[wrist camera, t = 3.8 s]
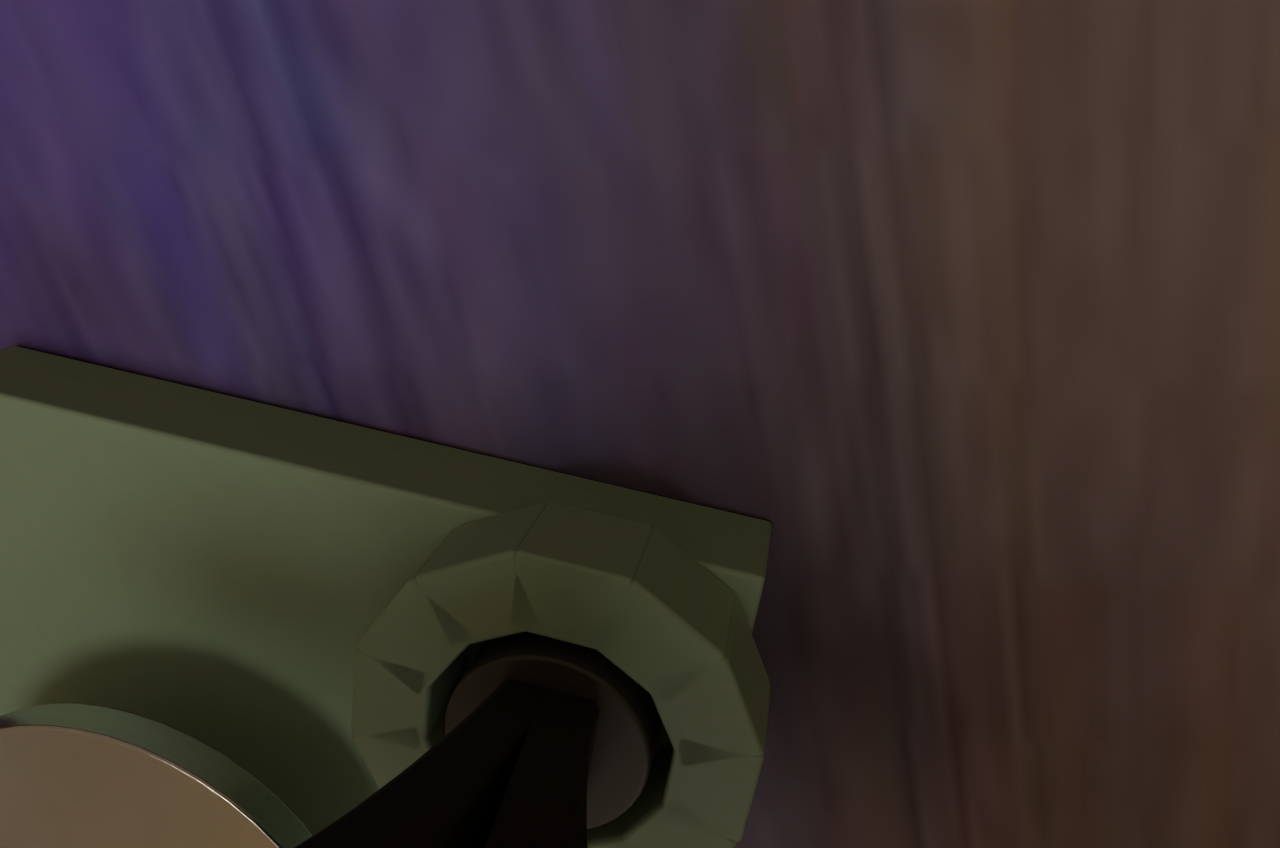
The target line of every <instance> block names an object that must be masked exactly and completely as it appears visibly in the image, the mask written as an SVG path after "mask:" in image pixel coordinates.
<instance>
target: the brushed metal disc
mask: <svg viewBox="0 0 1280 848" xmlns="http://www.w3.org/2000/svg"><path fill="white" fill-rule="evenodd" d="M312 836H313V835H312V833H311V832H310V831H309V830H308V828H307V827H306V826H305V825H304V823H303V822H302V821H301V820H300V818H299V817H298V816H297V815H296V814H295V813H294V812H293V811H292V810H291V809H290V808H289V807H288V806H287V805H286V804H285V803H284V802H283V801H282V800H281V799H280V798H279V797H278V796H277V795H276V794H275V793H274V792H272V791H271V790H270V789H269V788H268V787H266V786H265V785H264V784H263V783H262V782H261V781H259V780H258V779H257V778H256V777H255V776H253V775H252V774H251V773H250V772H248V771H247V770H245V769H244V768H243V767H241V766H240V765H238V764H237V763H235V762H234V761H233V760H231V759H230V758H228V757H227V756H225V755H224V754H222V753H221V752H219V751H217V750H215V749H214V748H212V747H210V746H208V745H207V744H205V743H203V742H201V741H200V740H198V739H196V738H194V737H192V736H190V735H188V734H186V733H183V732H181V731H179V730H177V729H175V728H172V727H170V726H168V725H166V724H164V723H161V722H158V721H155V720H152V719H149V718H146V717H143V716H140V715H137V714H134V713H130V712H126V711H121V710H117V709H113V708H108V707H104V706H95V705H86V704H77V703H67V704H44V705H38V706H32V707H26V708H22V709H19V710H16V711H13V712H10V713H7V714H4V715H1V716H0V848H294V847H296V846H297V845H299V844H300V843H302V842H304V841H305V840H307V839H308V838H310V837H312Z"/></svg>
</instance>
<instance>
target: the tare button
mask: <svg viewBox="0 0 1280 848" xmlns="http://www.w3.org/2000/svg"><path fill="white" fill-rule="evenodd" d="M509 679H512V680H516V681H520V682H524V683H528V684H531V685H535V686H539V687H543V688H546V689H550V690H554V691H558V692H562V693H565V694H569V695H573V696H577V697H581V698H585V699H588V700H592V701H594V702H595V704H596V705H597V706H598V708H599V709H600V713H599V718H598V724H597V729H596V735H595V741H594V746H593V752H592V758H591V763H590V769H589V775H588V780H587V829H591V828H596V827H599V826H601V825H604V824H607V823H609V822H611V821H613V820H615V819H616V818H618V817H619V816H621V815H622V814H623V813H625V812H626V811H627V810H628V809H629V808H630V807H631V806H632V805H633V804H634V803H635V802H636V801H637V799H638V798H639V796H640V795H641V794H642V792H643V790H644V788H645V786H646V783H647V780H648V777H649V773H650V770H651V766H652V762H653V758H654V754H655V750H656V746H657V742H658V739H659V735H660V731H661V727H662V723H663V722H662V720H661V718H660V715H659V713H658V710H657V708H656V706H655V703H654V701H653V699H652V696H651V694H650V693H649V692H648V691H647V690H645V689H644V688H643V687H642V686H640V685H639V684H638V683H637V682H636V681H634V680H633V679H632V678H631V677H629V676H628V675H627V674H626V673H624V672H623V671H622V670H621V669H620V668H618V667H617V666H616V665H615V664H613V663H612V662H611V661H610V660H609V659H607V658H606V657H605V656H604V655H602V654H601V653H600V652H599V651H598V650H596V649H592V648H588V647H585V646H581V645H577V644H573V643H569V642H565V641H561V640H557V639H553V638H549V637H546V636H542V635H538V634H534V633H530V632H526V631H525V632H520V633H516V634H512V635H507V636H503V637H499V638H494V639H490V640H485V641H484V643H483V644H482V646H481V648H480V649H479V651H478V652H477V654H476V656H475V657H474V659H473V660H472V662H471V664H470V665H469V667H468V668H467V670H466V672H465V673H464V675H463V676H462V678H461V680H460V681H459V683H458V684H457V686H456V688H455V689H454V691H453V693H452V695H451V697H450V699H449V702H448V705H447V709H446V714H445V736H446V735H447V734H448V733H449V732H450V731H451V730H453V729H454V728H455V727H456V726H457V725H458V724H459V723H460V722H462V721H463V720H464V719H465V718H466V717H467V716H468V715H469V714H470V713H471V712H472V711H474V710H475V709H476V708H477V707H478V706H479V705H480V704H481V703H482V702H483V701H484V700H485V699H486V698H487V697H488V696H489V695H490V694H491V693H492V692H493V691H494V690H495V689H496V688H497V687H498V686H499V685H500V684H501V683H503V682H505V681H507V680H509Z"/></svg>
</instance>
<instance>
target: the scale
mask: <svg viewBox="0 0 1280 848" xmlns="http://www.w3.org/2000/svg"><path fill="white" fill-rule="evenodd" d="M771 528H772V527H771V523H770V522H768V521H765V520H761V519H756V518H752V517H748V516H744V515H739V514H735V513H731V512H726V511H722V510H718V509H714V508H709V507H705V506H701V505H696V504H692V503H688V502H683V501H679V500H675V499H671V498H666V497H662V496H658V495H653V494H649V493H645V492H640V491H636V490H632V489H628V488H623V487H619V486H615V485H610V484H606V483H602V482H598V481H593V480H589V479H585V478H580V477H576V476H572V475H567V474H563V473H559V472H555V471H550V470H546V469H542V468H537V467H533V466H529V465H524V464H520V463H516V462H512V461H507V460H503V459H499V458H494V457H490V456H486V455H482V454H477V453H473V452H469V451H464V450H460V449H456V448H451V447H447V446H443V445H439V444H434V443H430V442H426V441H421V440H417V439H413V438H408V437H404V436H400V435H396V434H391V433H387V432H383V431H378V430H374V429H370V428H365V427H361V426H357V425H353V424H348V423H344V422H340V421H335V420H331V419H327V418H323V417H318V416H314V415H310V414H305V413H301V412H297V411H292V410H288V409H284V408H280V407H275V406H271V405H267V404H262V403H258V402H254V401H249V400H245V399H241V398H237V397H232V396H228V395H224V394H219V393H215V392H211V391H207V390H202V389H198V388H194V387H189V386H185V385H181V384H176V383H172V382H168V381H164V380H159V379H155V378H151V377H146V376H142V375H138V374H133V373H129V372H125V371H121V370H116V369H112V368H108V367H103V366H99V365H95V364H91V363H86V362H82V361H78V360H73V359H69V358H65V357H60V356H56V355H52V354H48V353H43V352H39V351H35V350H30V349H26V348H22V347H17V346H11V347H7V348H4V349H1V350H0V716H1V715H4V714H7V713H10V712H13V711H16V710H19V709H22V708H26V707H32V706H38V705H44V704H67V703H77V704H86V705H95V706H104V707H108V708H113V709H117V710H121V711H126V712H130V713H134V714H137V715H140V716H143V717H146V718H149V719H152V720H155V721H158V722H161V723H164V724H166V725H168V726H170V727H172V728H175V729H177V730H179V731H181V732H183V733H186V734H188V735H190V736H192V737H194V738H196V739H198V740H200V741H201V742H203V743H205V744H207V745H208V746H210V747H212V748H214V749H215V750H217V751H219V752H221V753H222V754H224V755H225V756H227V757H228V758H230V759H231V760H233V761H234V762H235V763H237V764H238V765H240V766H241V767H243V768H244V769H245V770H247V771H248V772H250V773H251V774H252V775H253V776H255V777H256V778H257V779H258V780H259V781H261V782H262V783H263V784H264V785H265V786H266V787H268V788H269V789H270V790H271V791H272V792H274V793H275V794H276V795H277V796H278V797H279V798H280V799H281V800H282V801H283V802H284V803H285V804H286V805H287V806H288V807H289V808H290V809H291V810H292V811H293V812H294V813H295V814H296V815H297V816H298V817H299V818H300V820H301V821H302V822H303V823H304V825H305V826H306V827H307V828H308V830H309V831H310V832H311V833H312V835H315V834H316V833H318V832H319V831H321V830H322V829H324V828H325V827H327V826H329V825H330V824H331V823H333V822H334V821H336V820H337V819H339V818H340V817H342V816H343V815H345V814H346V813H348V812H349V811H350V810H352V809H353V808H355V807H356V806H357V805H359V804H360V803H361V802H363V801H364V800H365V799H367V798H368V797H369V796H371V795H372V794H373V793H375V792H376V791H377V790H379V789H380V788H381V787H383V786H384V785H385V784H387V783H388V782H389V781H391V780H392V779H393V778H395V777H396V776H398V775H399V774H400V773H401V772H403V771H404V770H405V769H406V768H408V767H409V766H410V765H411V764H412V763H414V762H415V761H416V760H417V759H418V758H420V757H421V756H422V755H423V754H424V753H426V752H427V751H428V750H429V749H430V748H432V747H433V746H434V745H435V744H436V743H438V742H439V741H440V740H441V739H442V738H444V737H445V714H446V709H447V705H448V702H449V699H450V697H451V695H452V693H453V691H454V689H455V688H456V686H457V684H458V683H459V681H460V680H461V678H462V676H463V675H464V673H465V672H466V670H467V668H468V667H469V665H470V664H471V662H472V660H473V659H474V657H475V656H476V654H477V652H478V651H479V649H480V648H481V646H482V644H483V643H484V641H485V640H490V639H494V638H499V637H503V636H507V635H512V634H516V633H520V632H525V631H526V632H530V633H534V634H538V635H542V636H546V637H549V638H553V639H557V640H561V641H565V642H569V643H573V644H577V645H581V646H585V647H588V648H592V649H596V650H598V651H599V652H600V653H601V654H602V655H604V656H605V657H606V658H607V659H609V660H610V661H611V662H612V663H613V664H615V665H616V666H617V667H618V668H620V669H621V670H622V671H623V672H624V673H626V674H627V675H628V676H629V677H631V678H632V679H633V680H634V681H636V682H637V683H638V684H639V685H640V686H642V687H643V688H644V689H645V690H647V691H648V692H649V693H650V694H651V696H652V699H653V701H654V703H655V706H656V708H657V710H658V713H659V715H660V718H661V720H662V722H663V723H662V727H661V731H660V735H659V739H658V742H657V746H656V750H655V754H654V758H653V762H652V766H651V770H650V773H649V777H648V780H647V783H646V786H645V788H644V790H643V792H642V794H641V795H640V796H639V798H638V799H637V801H636V802H635V803H634V804H633V805H632V806H631V807H630V808H629V809H628V810H627V811H626V812H625V813H623V814H622V815H621V816H619V817H618V818H616V819H615V820H613V821H611V822H609V823H607V824H604V825H601V826H599V827H596V828H591V829H587V847H588V848H733V847H734V846H735V845H736V844H737V842H738V841H741V839H742V838H743V834H744V831H745V827H746V823H747V819H748V816H749V812H750V808H751V805H752V801H753V797H754V794H755V790H756V786H757V783H758V779H759V775H760V771H761V768H762V764H763V760H764V755H765V744H766V733H767V722H768V711H769V700H770V681H769V678H768V676H767V673H766V670H765V668H764V665H763V662H762V660H761V657H760V654H759V652H758V649H757V646H756V644H755V641H754V638H753V636H752V632H753V628H754V624H755V620H756V616H757V612H758V608H759V604H760V599H761V595H762V591H763V587H764V583H765V578H766V569H767V561H768V553H769V545H770V537H771Z"/></svg>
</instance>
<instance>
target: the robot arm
mask: <svg viewBox="0 0 1280 848" xmlns="http://www.w3.org/2000/svg"><path fill="white" fill-rule="evenodd" d="M599 713H600V709H599V708H598V706H597V705H596V704H595V702H594V701H592V700H588V699H585V698H581V697H577V696H573V695H569V694H565V693H562V692H558V691H554V690H550V689H546V688H543V687H539V686H535V685H531V684H528V683H524V682H520V681H516V680H512V679H509V680H507V681H505V682H503V683H501V684H500V685H499V686H498V687H497V688H496V689H495V690H494V691H493V692H492V693H491V694H490V695H489V696H488V697H487V698H486V699H485V700H484V701H483V702H482V703H481V704H480V705H479V706H478V707H477V708H476V709H475V710H474V711H472V712H471V713H470V714H469V715H468V716H467V717H466V718H465V719H464V720H463V721H462V722H460V723H459V724H458V725H457V726H456V727H455V728H454V729H453V730H451V731H450V732H449V733H448V734H447V735H446V736H445V737H444V738H442V739H441V740H440V741H439V742H438V743H436V744H435V745H434V746H433V747H432V748H430V749H429V750H428V751H427V752H426V753H424V754H423V755H422V756H421V757H420V758H418V759H417V760H416V761H415V762H414V763H412V764H411V765H410V766H409V767H408V768H406V769H405V770H404V771H403V772H401V773H400V774H399V775H398V776H396V777H395V778H393V779H392V780H391V781H389V782H388V783H387V784H385V785H384V786H383V787H381V788H380V789H379V790H377V791H376V792H375V793H373V794H372V795H371V796H369V797H368V798H367V799H365V800H364V801H363V802H361V803H360V804H359V805H357V806H356V807H355V808H353V809H352V810H350V811H349V812H348V813H346V814H345V815H343V816H342V817H340V818H339V819H337V820H336V821H334V822H333V823H331V824H330V825H329V826H327V827H325V828H324V829H322V830H321V831H319V832H318V833H316V834H315V835H313V836H312V837H310V838H308V839H307V840H305V841H304V842H302V843H300V844H299V845H297V846H296V847H294V848H588V847H587V780H588V775H589V769H590V763H591V758H592V752H593V746H594V741H595V735H596V729H597V724H598V718H599Z"/></svg>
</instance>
